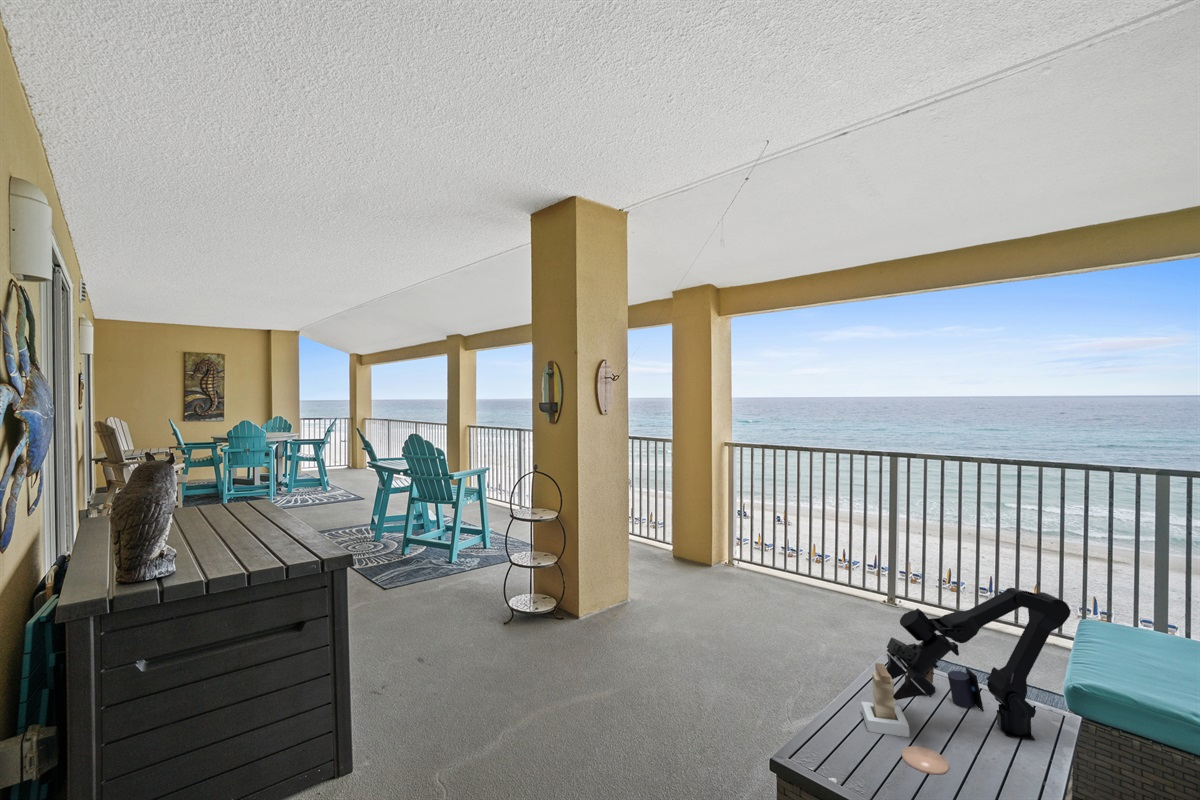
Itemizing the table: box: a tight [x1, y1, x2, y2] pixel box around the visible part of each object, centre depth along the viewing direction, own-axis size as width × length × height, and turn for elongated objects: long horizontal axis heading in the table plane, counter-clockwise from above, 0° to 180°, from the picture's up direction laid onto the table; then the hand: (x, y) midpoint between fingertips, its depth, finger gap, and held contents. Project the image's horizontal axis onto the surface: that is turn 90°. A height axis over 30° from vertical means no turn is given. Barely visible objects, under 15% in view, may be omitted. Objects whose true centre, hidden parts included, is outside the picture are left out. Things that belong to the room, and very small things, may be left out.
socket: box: [860, 701, 910, 738], centre depth 148 cm, size 10×10×3 cm
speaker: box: [946, 667, 985, 712], centre depth 158 cm, size 8×6×10 cm
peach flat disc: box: [901, 745, 950, 775], centre depth 132 cm, size 10×10×1 cm
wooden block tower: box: [871, 662, 896, 720], centre depth 148 cm, size 4×8×15 cm, turn 163°
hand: (887, 689), depth 148 cm, fingers open, 9 cm apart
